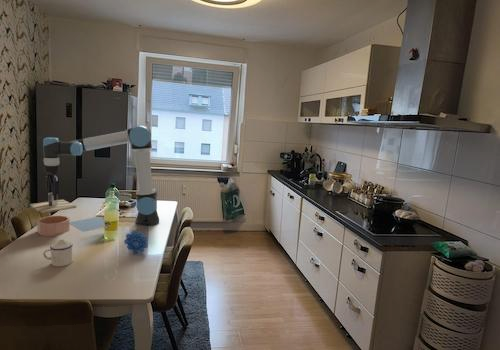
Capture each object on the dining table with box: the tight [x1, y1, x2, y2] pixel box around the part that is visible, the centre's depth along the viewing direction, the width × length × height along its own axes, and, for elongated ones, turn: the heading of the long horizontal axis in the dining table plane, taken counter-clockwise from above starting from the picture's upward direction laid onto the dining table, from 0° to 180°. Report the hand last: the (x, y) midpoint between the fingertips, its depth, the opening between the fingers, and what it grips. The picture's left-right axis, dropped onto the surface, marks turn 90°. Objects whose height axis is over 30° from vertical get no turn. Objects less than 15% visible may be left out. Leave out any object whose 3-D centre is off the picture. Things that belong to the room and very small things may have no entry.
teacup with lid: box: [42, 238, 73, 268], centre depth 155 cm, size 12×9×12 cm
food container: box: [118, 191, 132, 202], centre depth 256 cm, size 12×6×10 cm, turn 84°
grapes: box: [124, 230, 149, 254], centre depth 171 cm, size 12×7×12 cm, turn 105°
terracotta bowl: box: [36, 215, 71, 237], centre depth 194 cm, size 16×16×7 cm
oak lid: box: [29, 194, 77, 214], centre depth 192 cm, size 18×18×7 cm
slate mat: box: [70, 216, 105, 233], centre depth 210 cm, size 22×22×1 cm
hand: (53, 204), depth 192 cm, fingers closed on oak lid, 4 cm apart
